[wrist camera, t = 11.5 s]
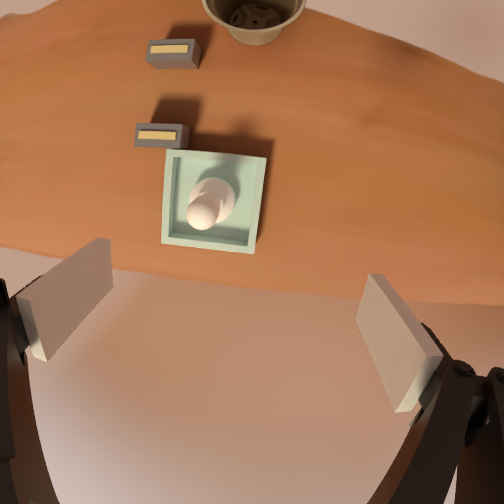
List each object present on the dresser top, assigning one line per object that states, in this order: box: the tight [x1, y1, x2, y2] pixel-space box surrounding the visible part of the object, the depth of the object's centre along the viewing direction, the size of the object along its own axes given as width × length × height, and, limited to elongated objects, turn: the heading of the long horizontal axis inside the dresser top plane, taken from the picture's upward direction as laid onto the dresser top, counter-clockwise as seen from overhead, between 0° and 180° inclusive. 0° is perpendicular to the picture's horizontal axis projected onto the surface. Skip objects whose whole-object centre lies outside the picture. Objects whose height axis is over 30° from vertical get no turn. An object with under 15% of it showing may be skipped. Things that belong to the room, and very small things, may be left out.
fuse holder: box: [134, 39, 201, 148], centre depth 28 cm, size 5×12×4 cm, turn 173°
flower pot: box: [202, 0, 306, 45], centre depth 23 cm, size 9×9×9 cm
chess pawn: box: [186, 177, 236, 230], centre depth 29 cm, size 5×5×9 cm
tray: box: [161, 149, 267, 254], centre depth 33 cm, size 11×11×2 cm
